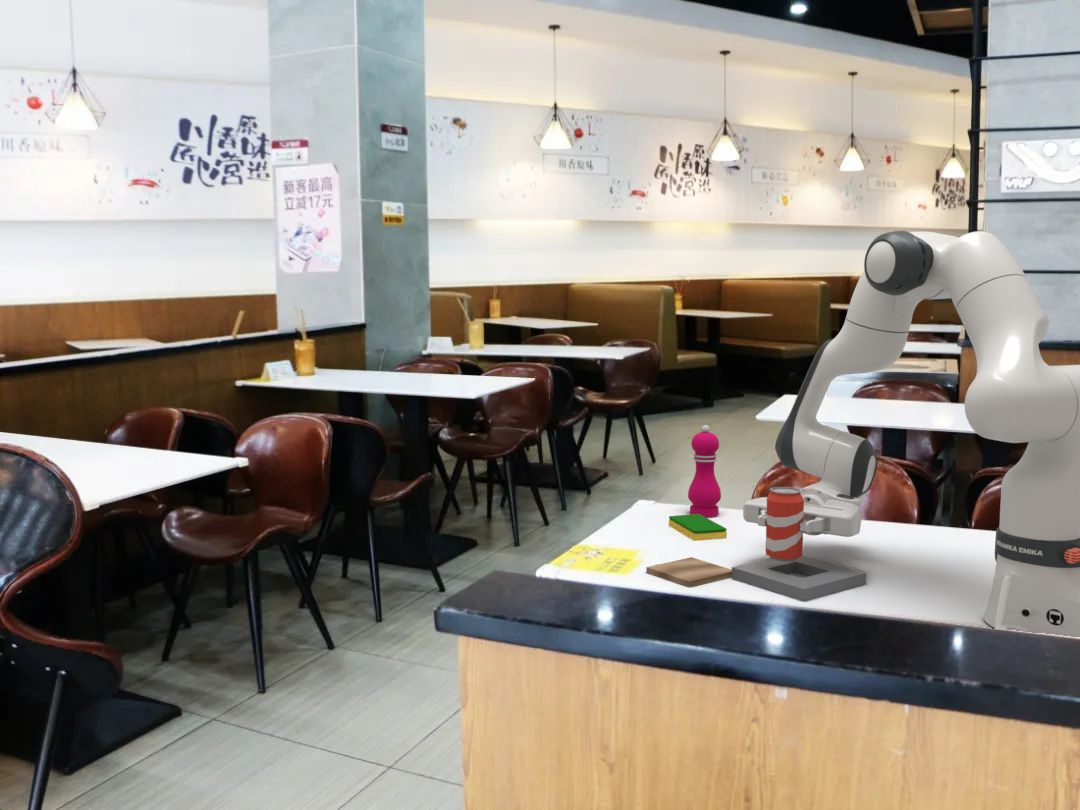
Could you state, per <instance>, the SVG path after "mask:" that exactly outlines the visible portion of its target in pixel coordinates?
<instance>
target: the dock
mask: <svg viewBox="0 0 1080 810" xmlns="http://www.w3.org/2000/svg"><path fill="white" fill-rule="evenodd" d="M731 569H732V576H731V577H730V578H731V579H733V580H736V581H739V582H741V583H745V584H748V585H751V586H754V587H757V588H761V589H764V590H768V591H770V592H774V593H776V594H778V595H779V594H780V595H784V596H786V597H789V598H792V599H795V600H799V601H802V602H807V601H811V600H813V599H817V598H821V597H824V596H827V595H832V594H834V593H839V592H842V591H845V590H849V589H854V588H856V587H860V586H861V587H862V586H864V585H867V572H866V571H862V570H858V569H856V568H855V569H854V568H851V567H847V566H844V565H840V564H836V563H833V562H829V561H825V560H821V559H818V558H814V557H810V556H807V555H804V554H802V557H799V558H798V559H797V560H795V561H789V562H783V561H776V560H773V559H771V558H770V557H769V558H765V559H762V560H757V561H752V562H748V563H743V564H740V565H739V564H738V565H735V566H732V567H731ZM792 574H799V575H802V576H805V577H802V578H800V577H797V576H793V575H792Z"/></svg>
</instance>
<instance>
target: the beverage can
mask: <svg viewBox="0 0 1080 810" xmlns="http://www.w3.org/2000/svg"><path fill="white" fill-rule="evenodd" d="M800 489H801V488H797V487H790V486H775V487H774V486H773V487H771V488H770V489H769V493H768V495H767V496H766V497H767V514H766V527H765V555H766V556H768V557H769V558H771V559H773V560H776V561H783V562H789V561H795V560H797V559H798V558H799V557H802V555H803V549H804V533H803V532H800V528H801V527H800V522H802V521H803V517H804V500H803V497H802V496H801V494H800V493H801V490H800Z"/></svg>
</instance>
